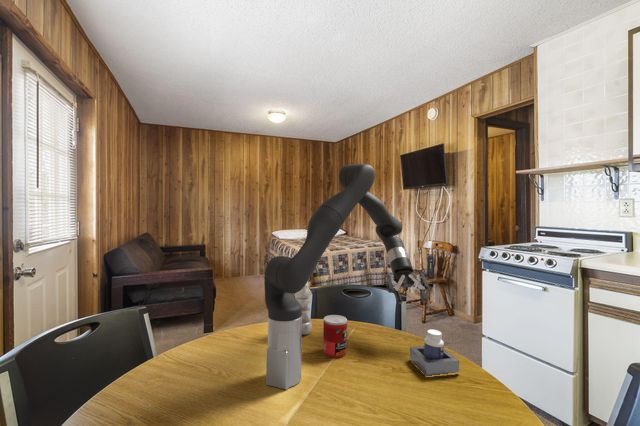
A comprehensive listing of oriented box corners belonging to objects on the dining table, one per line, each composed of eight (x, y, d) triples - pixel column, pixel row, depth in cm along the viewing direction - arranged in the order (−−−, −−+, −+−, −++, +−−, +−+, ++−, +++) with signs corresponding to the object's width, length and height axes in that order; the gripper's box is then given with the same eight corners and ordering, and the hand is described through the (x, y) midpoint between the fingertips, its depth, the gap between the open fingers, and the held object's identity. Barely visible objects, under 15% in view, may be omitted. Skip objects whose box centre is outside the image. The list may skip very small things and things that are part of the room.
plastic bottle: (290, 334, 110) (291, 281, 111) (300, 328, 116) (300, 277, 117) (305, 338, 107) (306, 283, 108) (314, 332, 113) (315, 279, 114)
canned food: (338, 360, 91) (339, 325, 91) (318, 353, 96) (318, 319, 96) (351, 351, 98) (351, 318, 98) (331, 345, 102) (332, 313, 102)
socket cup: (459, 376, 84) (459, 360, 84) (426, 379, 82) (426, 363, 82) (439, 359, 94) (439, 345, 94) (409, 361, 92) (409, 347, 92)
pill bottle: (443, 371, 85) (445, 337, 85) (423, 367, 86) (425, 334, 86) (441, 362, 90) (443, 330, 90) (423, 358, 91) (424, 327, 91)
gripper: (383, 256, 107) (395, 297, 96) (421, 255, 109) (437, 295, 98) (379, 268, 113) (389, 308, 101) (414, 267, 114) (429, 306, 103)
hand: (413, 302), depth 100 cm, fingers open, 8 cm apart
